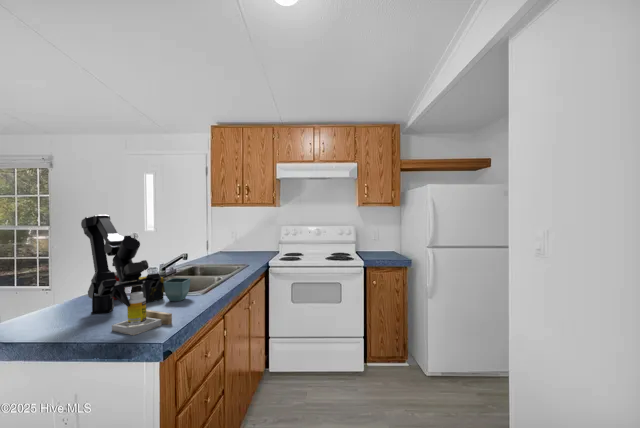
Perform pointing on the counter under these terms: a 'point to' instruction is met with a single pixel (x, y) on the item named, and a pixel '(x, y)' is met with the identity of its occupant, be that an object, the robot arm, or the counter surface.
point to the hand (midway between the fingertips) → (138, 304)
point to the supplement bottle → (137, 309)
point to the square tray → (136, 326)
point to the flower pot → (177, 288)
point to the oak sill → (160, 316)
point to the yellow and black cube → (152, 290)
